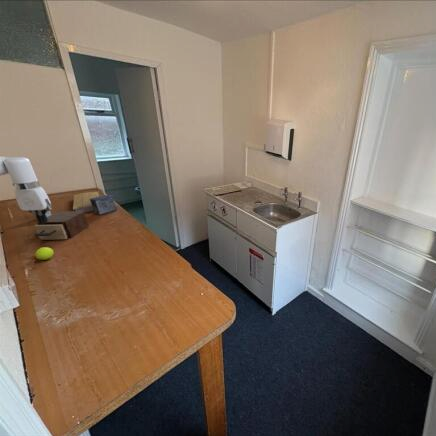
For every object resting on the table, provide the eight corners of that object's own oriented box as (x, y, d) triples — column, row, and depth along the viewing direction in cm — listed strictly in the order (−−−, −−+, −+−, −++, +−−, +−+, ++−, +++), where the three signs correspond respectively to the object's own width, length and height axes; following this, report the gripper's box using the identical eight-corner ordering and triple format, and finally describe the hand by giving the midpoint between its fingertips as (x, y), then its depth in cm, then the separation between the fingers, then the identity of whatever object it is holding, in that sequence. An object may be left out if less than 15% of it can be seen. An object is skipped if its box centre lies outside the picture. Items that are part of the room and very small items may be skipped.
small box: (111, 208, 160) (107, 194, 156) (117, 210, 158) (113, 195, 154) (93, 213, 152) (89, 198, 147) (99, 215, 149) (94, 200, 145)
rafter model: (102, 209, 158) (100, 201, 155) (74, 214, 149) (71, 205, 147) (99, 196, 182) (97, 188, 180) (75, 199, 173) (72, 191, 171)
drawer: (59, 243, 114) (53, 229, 111) (32, 244, 113) (25, 230, 110) (83, 227, 131) (78, 214, 128) (60, 228, 129) (55, 215, 126)
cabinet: (71, 238, 122) (65, 221, 118) (43, 239, 120) (36, 222, 116) (89, 226, 135) (84, 210, 131) (64, 226, 133) (58, 211, 129)
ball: (37, 263, 100) (32, 252, 98) (38, 258, 104) (34, 247, 102) (55, 259, 104) (50, 248, 101) (56, 254, 108) (51, 243, 105)
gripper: (0, 188, 100) (18, 226, 108) (39, 187, 103) (55, 224, 110) (15, 183, 107) (32, 219, 115) (52, 183, 110) (66, 218, 117)
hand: (43, 222), depth 112 cm, fingers closed
